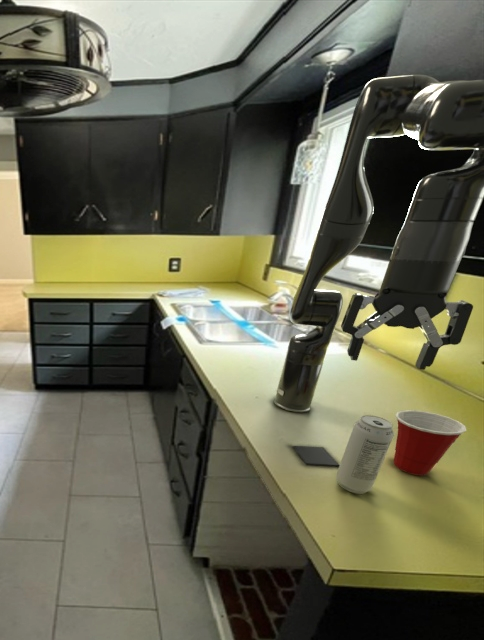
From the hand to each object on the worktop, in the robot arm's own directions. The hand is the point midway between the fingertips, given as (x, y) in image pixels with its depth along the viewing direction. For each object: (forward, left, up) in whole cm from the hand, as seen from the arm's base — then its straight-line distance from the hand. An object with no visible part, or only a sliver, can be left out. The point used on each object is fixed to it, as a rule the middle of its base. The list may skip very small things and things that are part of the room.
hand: (385, 363), depth 58 cm
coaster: (-16, 0, -28) cm, 32 cm away
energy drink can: (-7, +5, -29) cm, 30 cm away
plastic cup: (-19, +18, -29) cm, 39 cm away
